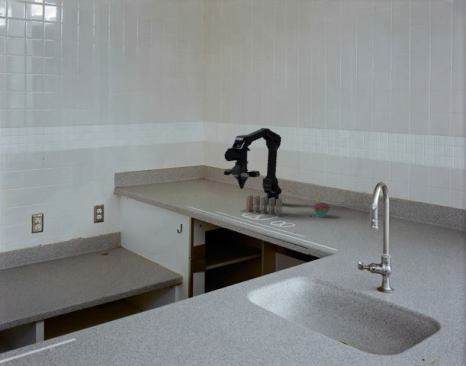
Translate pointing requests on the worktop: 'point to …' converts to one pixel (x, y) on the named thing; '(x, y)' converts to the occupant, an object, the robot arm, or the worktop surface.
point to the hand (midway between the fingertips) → (241, 189)
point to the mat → (266, 213)
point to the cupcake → (321, 208)
